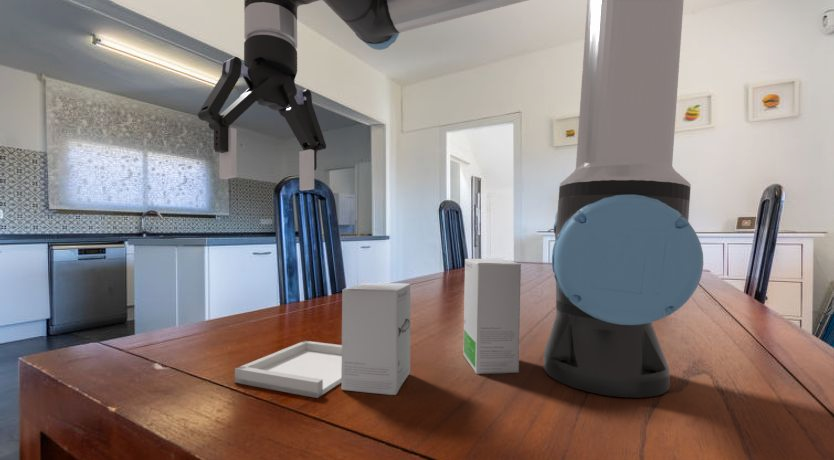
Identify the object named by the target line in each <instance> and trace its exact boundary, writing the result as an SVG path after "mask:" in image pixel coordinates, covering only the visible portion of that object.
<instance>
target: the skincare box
mask: <svg viewBox="0 0 834 460" xmlns="http://www.w3.org/2000/svg"><path fill="white" fill-rule="evenodd" d="M521 268H522V265H521V264H520V263H518V262H515V261H512V260H508V259H503V258H465V259H464V294H463V298H464V299H463V303H464V304H463V305H464V307H463V347H462V348H463V352H462V353H463V356H464V358H465V359H466V361H467V362H468V364H469V365H470V367H471V368H472V369H473V371H474V372H475V374H476V375H484V374H485V375H487V374H513V373H514V374H515V373H517V374H518V373H520V370H519V369H520V325H521V324H520V323H521V322H520V321H521V320H520V318H521V317H520V316H521V315H520V313H521V311H520V310H521V277H522V276H521V274H522V272H521V271H522V269H521Z"/></svg>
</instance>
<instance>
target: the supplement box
mask: <svg viewBox="0 0 834 460" xmlns="http://www.w3.org/2000/svg"><path fill="white" fill-rule="evenodd" d="M341 291H342V293H341V296H342V297H341V302H342V303H341V345H342V369H341V371H342V372H341V376H342V377H341V383H340V384H341V386H340V389H341V390H342V391H349V392H357V393H359V392H360V393H369V394H380V395H388V396H396V395H397V394H398V393H399V390H400V389H401V387H402V385H403V384H404V382H405V381H406V380H407V378H408V376H409V375H410V373H411V283H400V282H399V283H398V282H397V283H396V282H393V283H392V282H390V283H389V282H362V283H359V284H357V285H352V286H348V287H345V288H343V289H342V290H341Z"/></svg>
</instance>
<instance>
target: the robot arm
mask: <svg viewBox="0 0 834 460" xmlns="http://www.w3.org/2000/svg"><path fill="white" fill-rule="evenodd" d="M319 1H320V0H244V2H243V4H244V9H243V12H244V13H243V14H244V17H243V18H244V24H243V25H244V26H243V27H244V40H245V41H244V43H243V64H242V60H241V58H239V57H238V56H234V57H232V58H230V59H228V60H225V61H223V63H222V71H221V75H220V77H219V79H218V81H217V82H216V84H215V86H213V89H212V90H211V92H210V93H209V95H208V96H207V98H206V100H205V101H204V103H203V105H202V106H201V108H200V109H199V111H198V113H197V117H198V119H199V120H200V121H203V122H204V121H205V122H207V123H208V127H209V129H210V130H212V131H213V149H214V152H216V153H219V163H218V165H219V179H220V180H221V179H222V180H228V179H234V178H237V171H238V169H237V167H238V166H237V163H238V162H237V159H238V157H237V156H238V155H237V150H238V148H237V143H238V142H237V141H238V139H237V136H238V135H237V133H238V131H237V128H234V127H230V125H232V124H233V123H234V122H235V121H236V120H237V119H238V118H240V117H241V115H242V114H244V113H245V112H246V111H247V110H248V109H249V108H250V107H251V106H252V105H254V103H256V102H257V103H258V105H259V106H262V107H268V108H269V109H271V110H274V111H278V112H279V114H280V115H281V116H282V117H284V119H285V121H286V122H287V124H288V125H289V127H290V129H291V131H292V133H293V135H294V137H295V138H296V140H297V141H298V143H299V145H300V147H301V148H302V150H301V151H299V152H298V153H299V155H298V156H299V162H298V163H299V165H298V166H299V169H298V171H299V172H298V174H299V183H298V184H299V191H310V190H315V171H316V170H317V165H318V163H317V153H318V151H321V150H326V149H327V143H326V141H325V137H324V135H323V132H322V129H321V126H320V122H319V119H318V117H317V115H316V112H315V111H316V110H315V108H314V106H313V98H312V97H313V96H312V92H311V90H310V89H304V90H301V89H298V88H297V86H296V83H295V81H296V76H297V74H298V51H297V48H298V7H300V6H304V5H309V4H312V3H315V2H319ZM527 1H529V0H322V2H323V3H325V4H326V6H328V7H329V9H331V10H332V11H333V13H335V14H336V16H338V17H339V18H340V20H342V21H343V22H344V23H345V24H346V25H347V26H348V27H349V29H351V31H352V32H354V34H355V35H356V37H357V38H358V39H359V40H360V41H362V42H363V43H365V44H366V45H367V46H368V47H370V48H371V49H373V50H377V51H380V50H385V49H388V48H389V47H390V46H391V45H393V44H394V43H395V42H396V41H397V38H398V37H399V35H400V34H401V33H403V32H408V31H413V30H415V29H416V30H417V29H420V28H424V27H428V26H432V25H436V24H440V23H444V22H448V21H451V20H452V21H453V20H456V19H460V18H463V17H467V16H468V17H469V16H471V15H477V14H480V13H484V12H488V11H492V10H495V9H499V8H504V7H507V6H511V5H515V4H520V3H522V2H527ZM684 2H685V1H684V0H587V2H586V13H585V14H586V16H585V30H584V31H585V32H584V45H583V59H582V72H581V73H582V75H581V87H580V102H579V104H580V105H579V116H578V117H579V118H578V129H577V131H578V132H577V133H578V134H577V147H576V157H575V159H576V160H575V162H576V163H575V169H574V171H573V172H571V174H570V175H568V176H567V177H566V178H565V179H564V180H563V181H562V182H560V183H559V188H558V202H557V211H556V213H555V217H554V219H555V221H554V224H553V232H554V244H553V248H552V253H551V266H552V267H551V268H552V273H554V279H555V304H556V307H555V312H556V313H555V318H554V321H553V323H552V327H551V330H550V333H549V336H548V339H547V341H546V346H545V348H544V351H543V369H544V371H545V373H546V374H547V376H549V377H551V378H552V379H553V380H555V381H557V382H560V383H561V384H564V385H566V386H568V387H571V388H574V389H578V390H581V391H583V392H584V391H585V392H588V393H592V394H598V395H604V396H608V397H611V396H612V397H616V398H617V397H619V398H635V399H636V398H637V399H638V398H650V397H656V396H660V395H663V394H665V393H667V392H668V391H669V390H670V387H671V380H670V374H671V373H670V367H669V364H668V361H667V359H666V356H665V354H664V351H663V348H662V346H661V344H660V341H659V339H658V336H657V332H656V330H655V327H654V325H653V323H654V322H657V321H660V320H663V319H665V318H666V317H669V316H671V315H672V314H674V313H675V312H677V311H678V310H679V309H681V308H682V307H683V306H684V305H685V304H686V303H687V302H688V301H689V300H690V299H691V298H692V296H693V295H694V293H696V292H695V291H696V290H697V288H698V286H699V284H700V282H701V278H702V275H703V269H704V252H703V247H702V244H701V241H700V239H699V236H698V235H697V233H696V230H695V229H694V228H693V226H692V225H691V223H690V221H689V216H690V215H689V214H690V203H691V202H690V201H691V187H692V186H691V183H690V182H689V181H688V180H687V179H686V178H684V176H682V175H681V174H680V173H679V172H678V171H677V170H675V168H674V167H673V156H674V142H675V129H676V128H675V127H676V114H677V101H678V86H679V72H680V71H679V70H680V57H681V44H682V29H683V27H682V26H683V14H684V13H683V11H684ZM240 78H243V80H244V81H245V83H246V85H247V87H248V88H247V89H246V90H244V92H242V94H240V96H239V97H238V98H237V99H236V100H234V102H232V103H231V104H230V105H229V106H228V107H227V108H225V110H224V111H222V112H221V110H222V108H223V107H224V105H225V103H226V101H227V100H228V98H229V97H230V95H231V93H232V91H233V89H234V88H235V86H236V85H237V83H238V81H239V79H240ZM287 107H288V108H287ZM220 112H221V113H220Z"/></svg>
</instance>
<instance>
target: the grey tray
mask: <svg viewBox="0 0 834 460" xmlns="http://www.w3.org/2000/svg"><path fill="white" fill-rule="evenodd" d="M341 369H342V344H335V343H326V342H320V341H309V340H303V341H300V342H298V343H296V344H293V345H290V346H288V347H285V348H282V349H281V350H278V351H276V352H273V353H270V354H268V355H265V356H263V357H261V358H258V359H256V360H253V361H250V362H247V363H245V364H244V365H243V364H242V365H241V366H238V367H235V368H234V383H235V384H239V385H240V384H241V385H246V386H251V387H256V388H262V389H266V390H272V391H278V392H281V393H282V392H284V393H288V394H294V395H298V396H299V395H300V396H304V397H309V398H310V397H311V398H315V399H319V398H320V397H321V396H323V395H324V394H327V392H329V391H330V390H332V389H333V388H335V387H337V386H338V385H340V384H341V377H342V376H341V372H342V371H341Z"/></svg>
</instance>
